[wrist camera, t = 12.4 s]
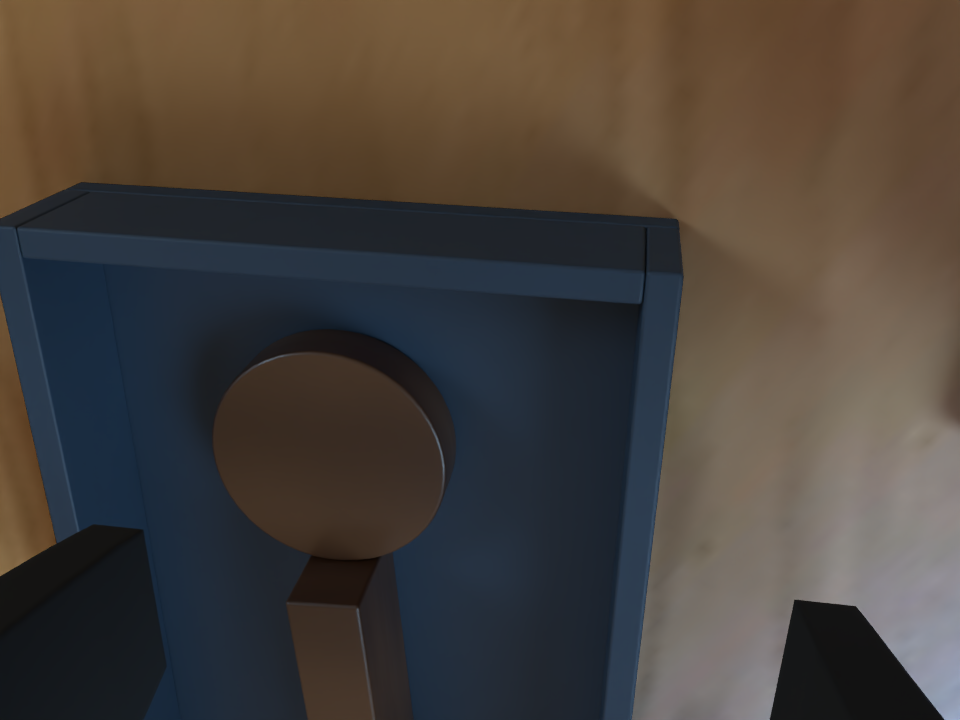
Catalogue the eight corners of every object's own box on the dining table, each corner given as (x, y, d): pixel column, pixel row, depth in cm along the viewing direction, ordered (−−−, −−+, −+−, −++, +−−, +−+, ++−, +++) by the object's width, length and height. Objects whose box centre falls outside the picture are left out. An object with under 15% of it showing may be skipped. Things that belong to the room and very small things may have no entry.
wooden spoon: (495, 892, 25) (479, 988, 23) (323, 871, 26) (291, 962, 24) (447, 328, 18) (418, 386, 16) (214, 326, 19) (155, 381, 17)
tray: (678, 218, 17) (684, 273, 15) (596, 953, 27) (590, 1071, 24) (80, 181, 19) (-17, 225, 16) (203, 884, 29) (155, 986, 26)
